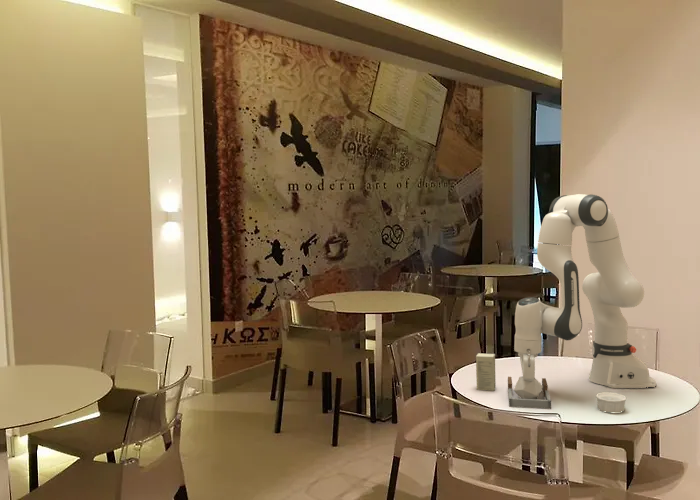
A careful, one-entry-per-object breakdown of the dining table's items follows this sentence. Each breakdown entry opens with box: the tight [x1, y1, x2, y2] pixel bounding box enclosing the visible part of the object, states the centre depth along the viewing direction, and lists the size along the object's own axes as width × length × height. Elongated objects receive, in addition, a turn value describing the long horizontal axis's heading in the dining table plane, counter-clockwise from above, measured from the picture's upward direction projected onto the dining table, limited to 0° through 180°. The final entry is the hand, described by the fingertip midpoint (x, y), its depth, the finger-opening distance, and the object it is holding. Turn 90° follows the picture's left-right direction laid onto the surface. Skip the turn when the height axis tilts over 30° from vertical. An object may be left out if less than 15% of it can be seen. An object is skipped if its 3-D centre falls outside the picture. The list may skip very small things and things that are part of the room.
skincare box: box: [475, 352, 497, 392], centre depth 234 cm, size 6×4×12 cm
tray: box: [507, 387, 552, 410], centre depth 220 cm, size 13×11×2 cm
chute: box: [507, 376, 549, 398], centre depth 230 cm, size 13×8×4 cm, turn 78°
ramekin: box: [595, 392, 627, 413], centre depth 212 cm, size 9×9×4 cm
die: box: [513, 375, 543, 399], centre depth 222 cm, size 8×9×10 cm
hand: (527, 385), depth 227 cm, fingers closed
